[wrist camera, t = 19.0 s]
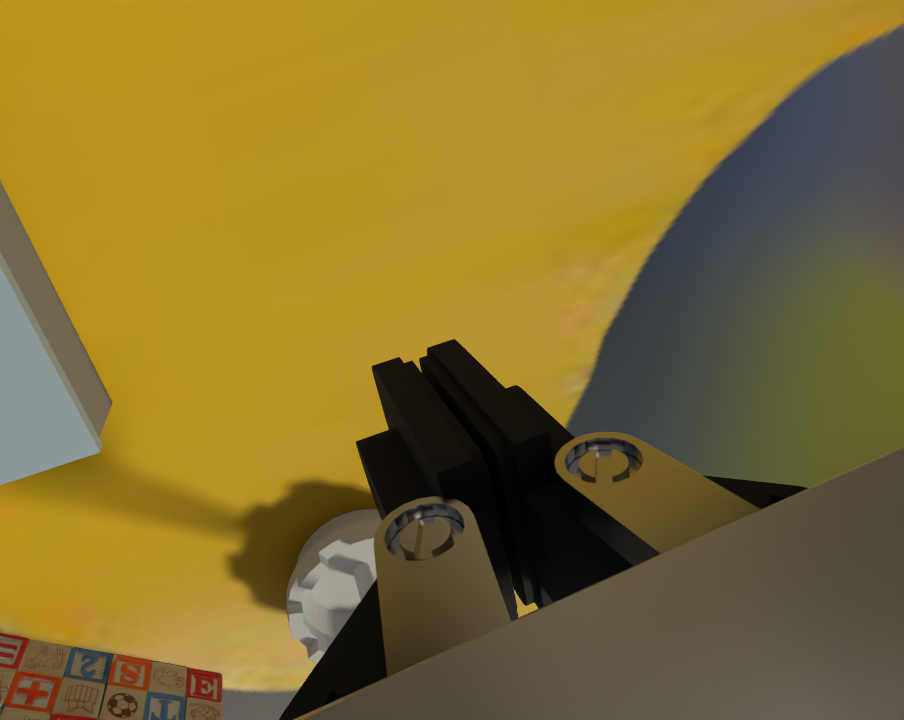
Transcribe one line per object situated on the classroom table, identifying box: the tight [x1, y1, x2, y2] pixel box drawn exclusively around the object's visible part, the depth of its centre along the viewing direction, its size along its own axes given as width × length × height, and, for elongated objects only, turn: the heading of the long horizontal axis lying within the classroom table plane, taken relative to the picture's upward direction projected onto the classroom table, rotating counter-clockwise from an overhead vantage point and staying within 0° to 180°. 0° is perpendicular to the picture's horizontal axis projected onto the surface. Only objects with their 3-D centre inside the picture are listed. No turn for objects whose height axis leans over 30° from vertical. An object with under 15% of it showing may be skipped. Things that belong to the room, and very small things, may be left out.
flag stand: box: [286, 509, 382, 663], centre depth 40 cm, size 13×13×30 cm
